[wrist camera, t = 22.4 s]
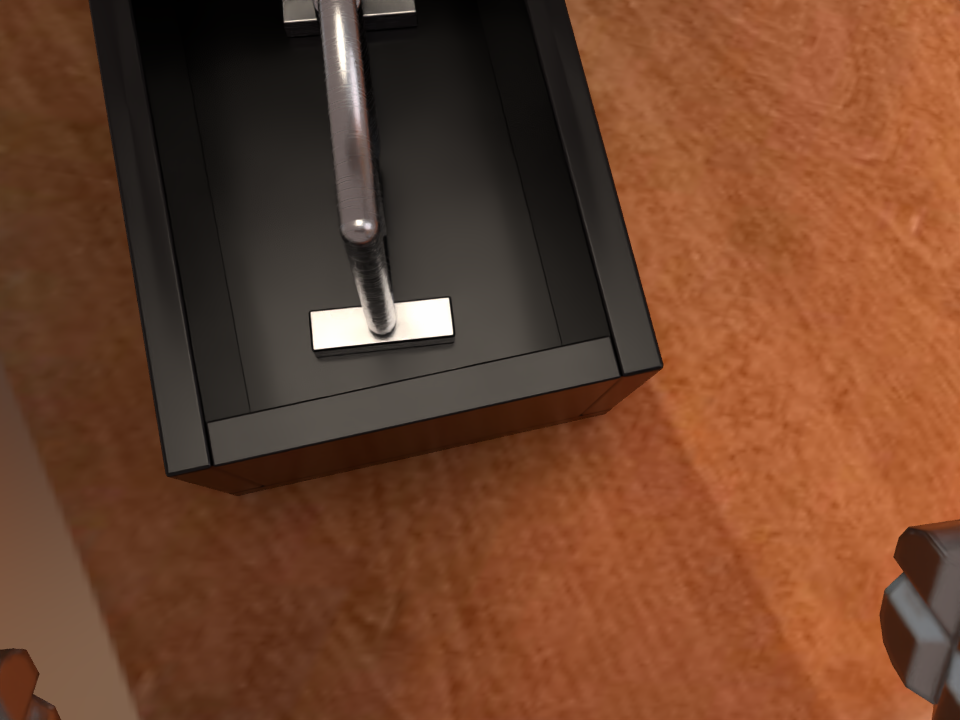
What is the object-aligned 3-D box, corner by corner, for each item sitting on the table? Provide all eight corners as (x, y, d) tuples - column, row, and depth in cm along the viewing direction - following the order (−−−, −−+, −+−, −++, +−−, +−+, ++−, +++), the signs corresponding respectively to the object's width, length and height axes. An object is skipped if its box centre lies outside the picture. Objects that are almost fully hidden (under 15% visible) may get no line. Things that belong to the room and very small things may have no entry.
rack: (455, 342, 26) (466, 238, 18) (315, 357, 26) (254, 259, 17) (413, -8, 29) (404, -257, 20) (283, 2, 28) (215, -246, 19)
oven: (607, 413, 27) (665, 368, 20) (235, 496, 26) (164, 478, 19) (479, -86, 30) (492, -271, 23) (142, -30, 29) (54, -206, 22)
